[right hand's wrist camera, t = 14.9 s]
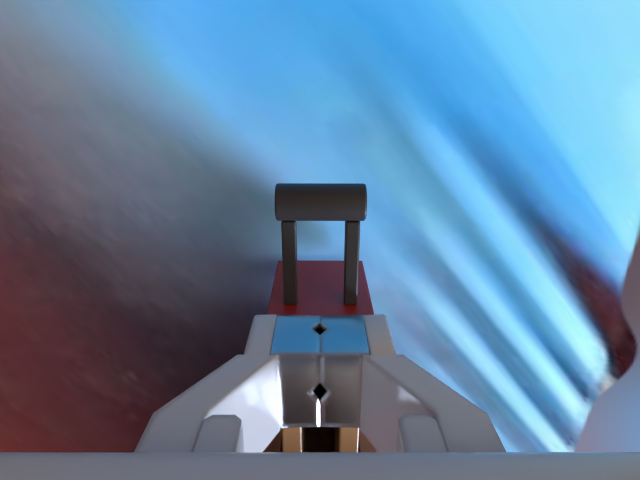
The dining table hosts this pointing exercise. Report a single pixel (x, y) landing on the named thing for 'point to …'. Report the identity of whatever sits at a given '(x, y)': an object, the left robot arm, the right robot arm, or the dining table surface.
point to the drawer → (320, 283)
